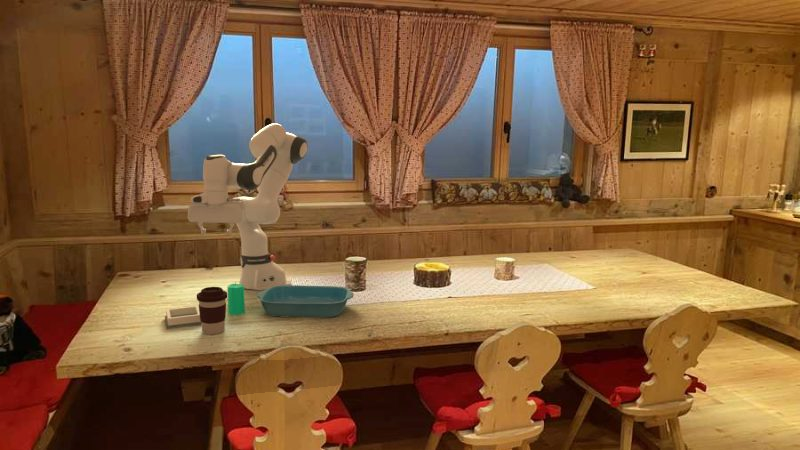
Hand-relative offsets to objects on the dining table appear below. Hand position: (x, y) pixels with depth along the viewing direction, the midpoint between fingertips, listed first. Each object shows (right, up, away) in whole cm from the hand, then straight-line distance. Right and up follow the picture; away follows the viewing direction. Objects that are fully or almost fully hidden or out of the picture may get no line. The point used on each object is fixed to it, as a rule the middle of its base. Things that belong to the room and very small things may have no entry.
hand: (216, 234), depth 215 cm
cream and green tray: (-7, -31, -11) cm, 34 cm away
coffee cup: (+6, -33, -21) cm, 40 cm away
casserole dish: (+34, -30, +4) cm, 45 cm away
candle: (+8, -30, -1) cm, 31 cm away
